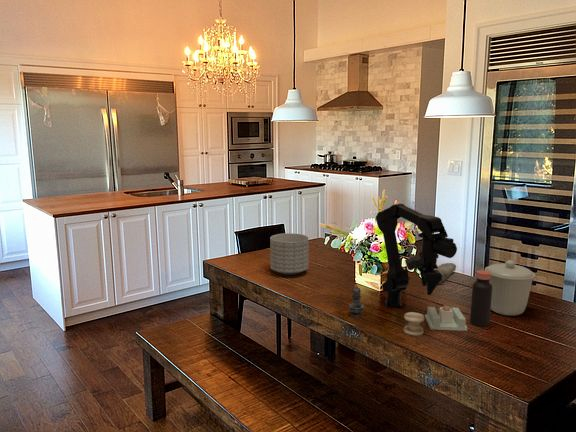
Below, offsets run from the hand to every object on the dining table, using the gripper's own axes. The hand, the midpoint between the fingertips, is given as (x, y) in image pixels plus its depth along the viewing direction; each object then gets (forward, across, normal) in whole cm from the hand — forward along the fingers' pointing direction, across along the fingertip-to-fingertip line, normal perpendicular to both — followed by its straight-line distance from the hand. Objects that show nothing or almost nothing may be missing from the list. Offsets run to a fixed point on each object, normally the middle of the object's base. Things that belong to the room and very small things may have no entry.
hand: (426, 290), depth 180 cm
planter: (+14, -54, -56) cm, 79 cm away
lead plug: (+10, +4, +7) cm, 13 cm away
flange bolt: (+12, -3, -26) cm, 29 cm away
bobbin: (+12, +11, -6) cm, 17 cm away
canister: (+12, -11, +34) cm, 38 cm away
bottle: (+12, +2, +20) cm, 23 cm away
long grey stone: (+13, -54, +19) cm, 59 cm away
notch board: (+12, +4, +7) cm, 14 cm away
